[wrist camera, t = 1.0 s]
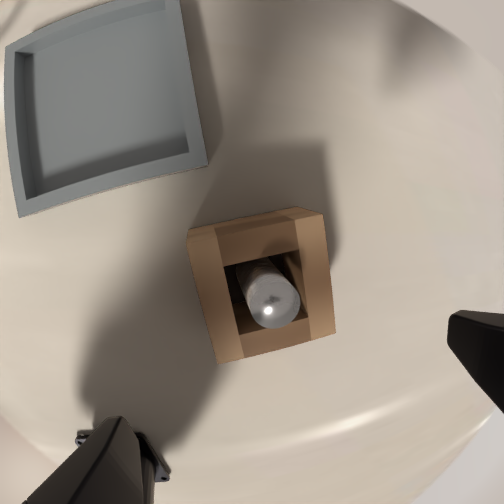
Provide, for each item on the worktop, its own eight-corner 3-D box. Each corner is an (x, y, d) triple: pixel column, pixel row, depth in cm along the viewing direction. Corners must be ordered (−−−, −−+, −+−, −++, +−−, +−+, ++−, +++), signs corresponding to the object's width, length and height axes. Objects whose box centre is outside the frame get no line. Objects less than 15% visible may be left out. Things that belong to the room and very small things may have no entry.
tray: (207, 166, 17) (208, 164, 15) (34, 213, 16) (19, 218, 14) (178, 2, 14) (177, -15, 12) (19, 55, 13) (5, 46, 11)
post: (274, 283, 19) (303, 321, 14) (239, 291, 19) (255, 333, 14) (268, 248, 19) (296, 276, 13) (232, 256, 18) (245, 288, 13)
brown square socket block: (311, 305, 20) (335, 333, 16) (213, 329, 19) (217, 364, 15) (297, 206, 18) (322, 214, 14) (188, 229, 18) (185, 243, 14)
